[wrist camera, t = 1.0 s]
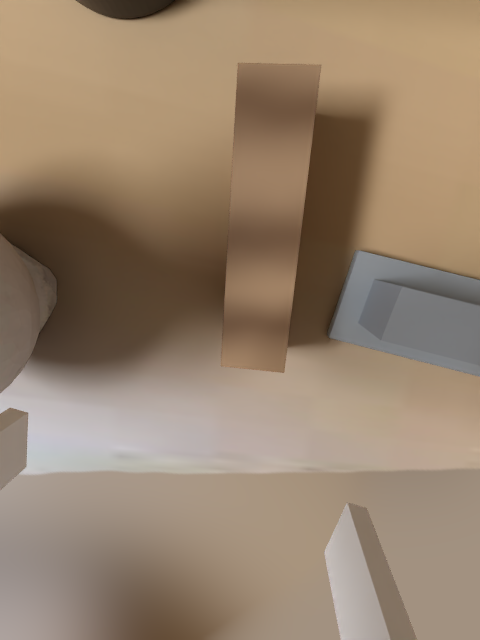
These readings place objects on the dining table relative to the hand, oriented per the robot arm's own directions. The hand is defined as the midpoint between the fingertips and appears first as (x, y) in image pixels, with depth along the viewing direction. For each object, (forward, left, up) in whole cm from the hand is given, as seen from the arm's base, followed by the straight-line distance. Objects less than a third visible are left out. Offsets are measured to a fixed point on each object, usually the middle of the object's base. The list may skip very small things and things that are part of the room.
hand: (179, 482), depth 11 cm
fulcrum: (-8, +16, -17) cm, 24 cm away
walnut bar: (-11, +1, -17) cm, 20 cm away
